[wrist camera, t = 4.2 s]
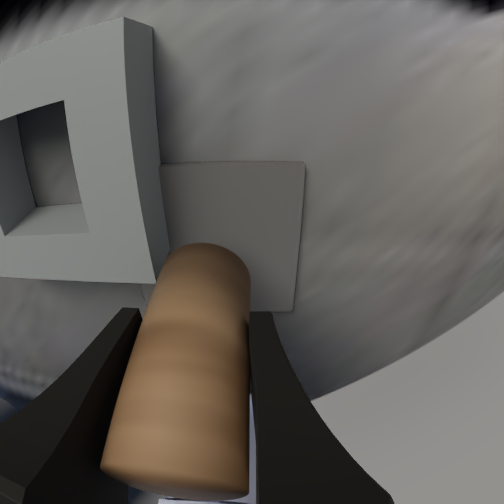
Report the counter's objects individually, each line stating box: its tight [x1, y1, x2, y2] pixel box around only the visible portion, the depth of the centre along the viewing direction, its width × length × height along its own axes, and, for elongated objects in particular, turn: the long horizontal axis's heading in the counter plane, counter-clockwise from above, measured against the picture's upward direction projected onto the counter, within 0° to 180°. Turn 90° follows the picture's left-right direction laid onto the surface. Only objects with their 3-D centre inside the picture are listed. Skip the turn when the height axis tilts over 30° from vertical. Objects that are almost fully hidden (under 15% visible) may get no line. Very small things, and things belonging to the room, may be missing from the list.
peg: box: [100, 243, 251, 501], centre depth 9 cm, size 4×4×8 cm
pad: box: [140, 161, 305, 311], centre depth 14 cm, size 8×8×1 cm
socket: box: [0, 17, 170, 284], centre depth 11 cm, size 10×10×3 cm
